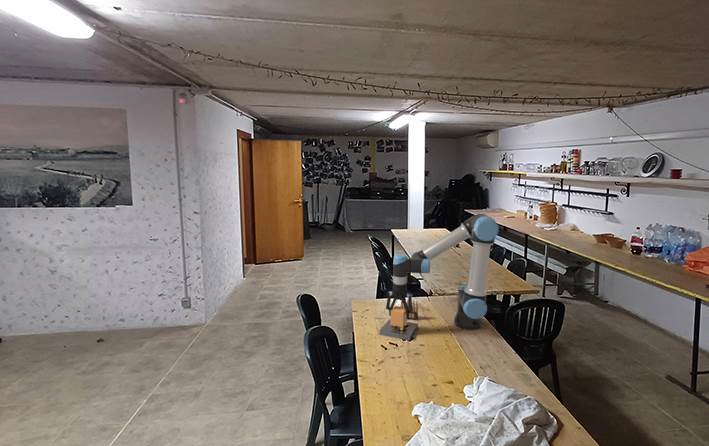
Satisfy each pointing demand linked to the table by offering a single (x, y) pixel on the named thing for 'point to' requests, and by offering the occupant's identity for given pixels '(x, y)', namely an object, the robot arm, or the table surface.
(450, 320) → the table surface
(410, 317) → the ammunition clip
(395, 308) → the cardboard-colored brick
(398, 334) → the socket plate
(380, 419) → the table surface
